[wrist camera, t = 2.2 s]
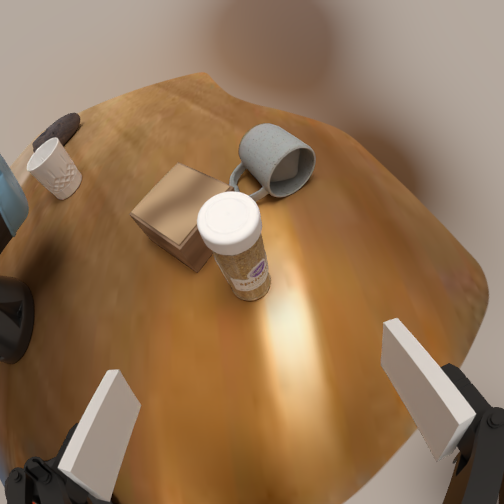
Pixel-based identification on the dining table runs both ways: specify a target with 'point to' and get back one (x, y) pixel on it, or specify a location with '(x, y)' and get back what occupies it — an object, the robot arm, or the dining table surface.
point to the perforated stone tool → (59, 130)
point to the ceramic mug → (274, 161)
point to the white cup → (55, 169)
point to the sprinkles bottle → (236, 242)
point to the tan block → (179, 213)
